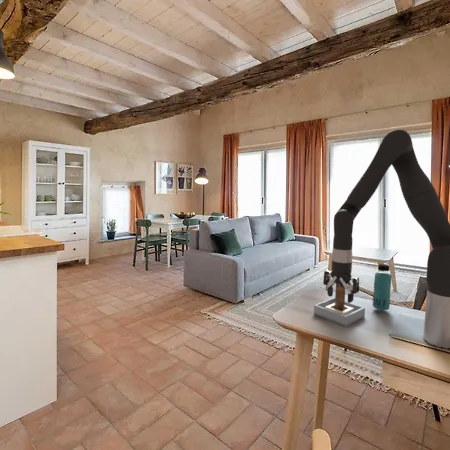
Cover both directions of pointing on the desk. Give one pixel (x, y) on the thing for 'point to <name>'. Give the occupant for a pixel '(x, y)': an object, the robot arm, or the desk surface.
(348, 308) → the box
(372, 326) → the desk surface
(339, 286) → the peg
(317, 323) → the desk surface
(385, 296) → the beverage bottle
